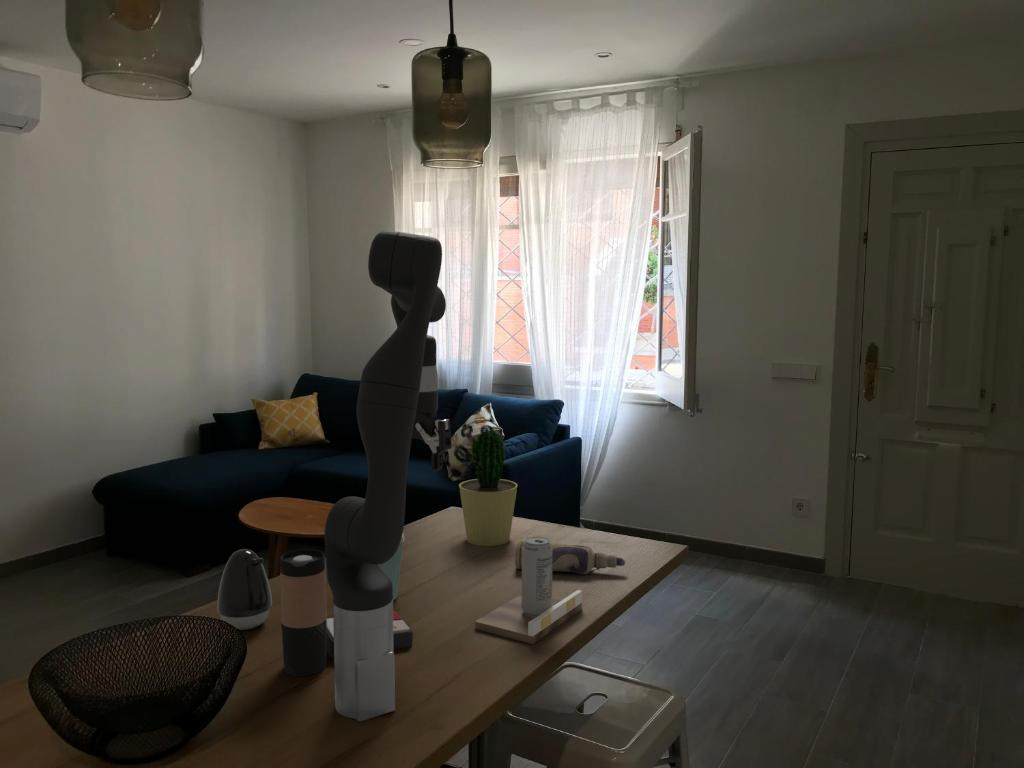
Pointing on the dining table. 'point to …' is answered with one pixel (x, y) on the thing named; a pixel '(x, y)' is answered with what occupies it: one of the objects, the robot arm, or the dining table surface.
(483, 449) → the potted cactus
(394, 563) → the disposable coffee cup
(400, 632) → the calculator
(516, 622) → the shelf board
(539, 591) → the energy drink can
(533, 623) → the price rail
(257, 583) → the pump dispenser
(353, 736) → the dining table surface
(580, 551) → the decorative bottle
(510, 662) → the dining table surface
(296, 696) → the dining table surface
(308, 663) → the travel mug
